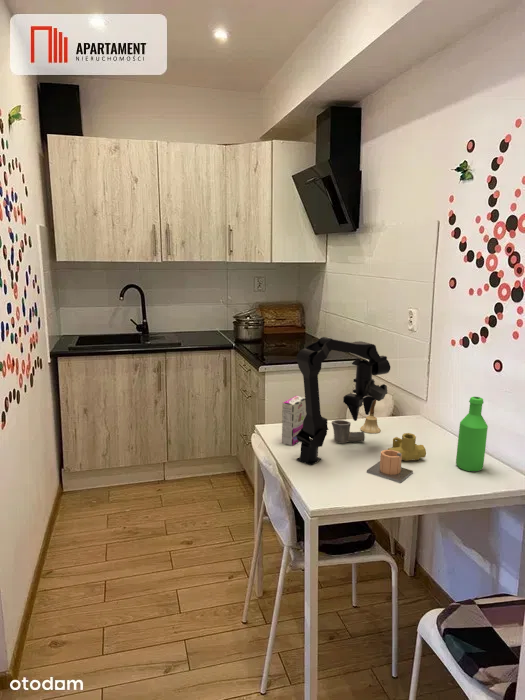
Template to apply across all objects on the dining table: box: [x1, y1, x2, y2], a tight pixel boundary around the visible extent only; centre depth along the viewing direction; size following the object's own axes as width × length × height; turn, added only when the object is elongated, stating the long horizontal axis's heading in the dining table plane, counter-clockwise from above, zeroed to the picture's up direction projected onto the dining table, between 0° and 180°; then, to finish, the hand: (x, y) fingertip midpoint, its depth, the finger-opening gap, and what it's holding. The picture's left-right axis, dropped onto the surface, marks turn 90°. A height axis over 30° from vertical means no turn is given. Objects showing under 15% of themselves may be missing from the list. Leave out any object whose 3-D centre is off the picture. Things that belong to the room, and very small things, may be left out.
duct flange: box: [366, 460, 414, 484], centre depth 172 cm, size 10×12×6 cm
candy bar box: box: [281, 395, 306, 447], centre depth 197 cm, size 11×5×16 cm, turn 148°
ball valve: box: [387, 432, 427, 462], centre depth 184 cm, size 13×10×10 cm
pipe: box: [331, 419, 366, 444], centre depth 198 cm, size 6×13×8 cm, turn 89°
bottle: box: [455, 396, 489, 472], centre depth 176 cm, size 9×9×25 cm
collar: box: [379, 449, 403, 475], centre depth 171 cm, size 6×6×7 cm
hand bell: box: [359, 400, 381, 434], centre depth 211 cm, size 8×8×16 cm
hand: (361, 417), depth 190 cm, fingers open, 9 cm apart
